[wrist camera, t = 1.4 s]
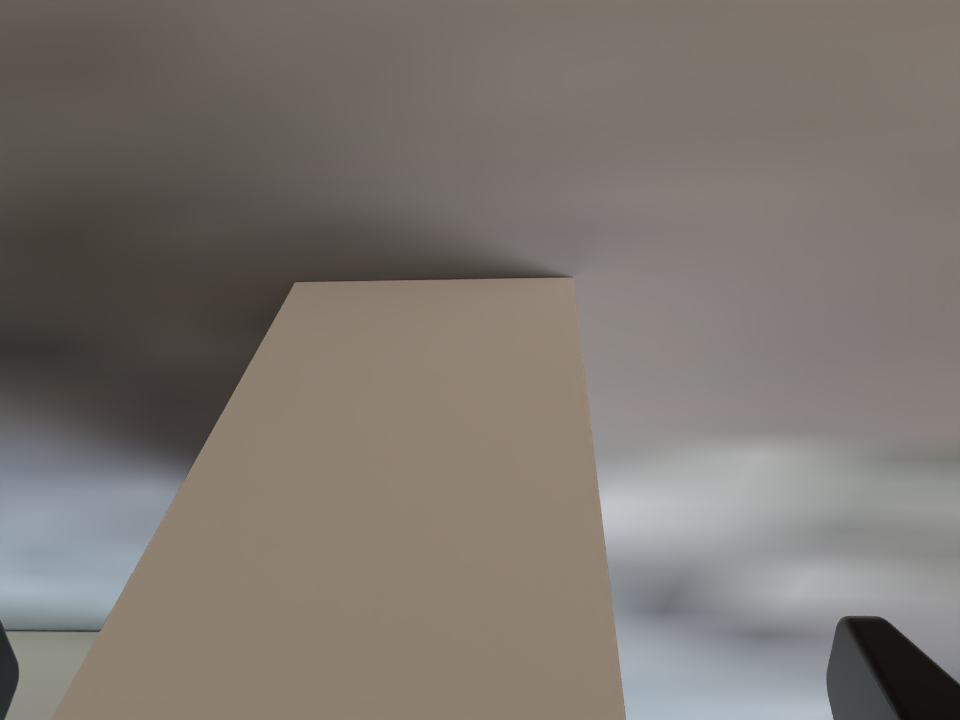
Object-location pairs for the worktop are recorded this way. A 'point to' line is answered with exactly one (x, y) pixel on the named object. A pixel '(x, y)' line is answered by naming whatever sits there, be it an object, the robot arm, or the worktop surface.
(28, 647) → the tray
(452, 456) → the cream block
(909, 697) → the robot arm
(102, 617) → the worktop surface
